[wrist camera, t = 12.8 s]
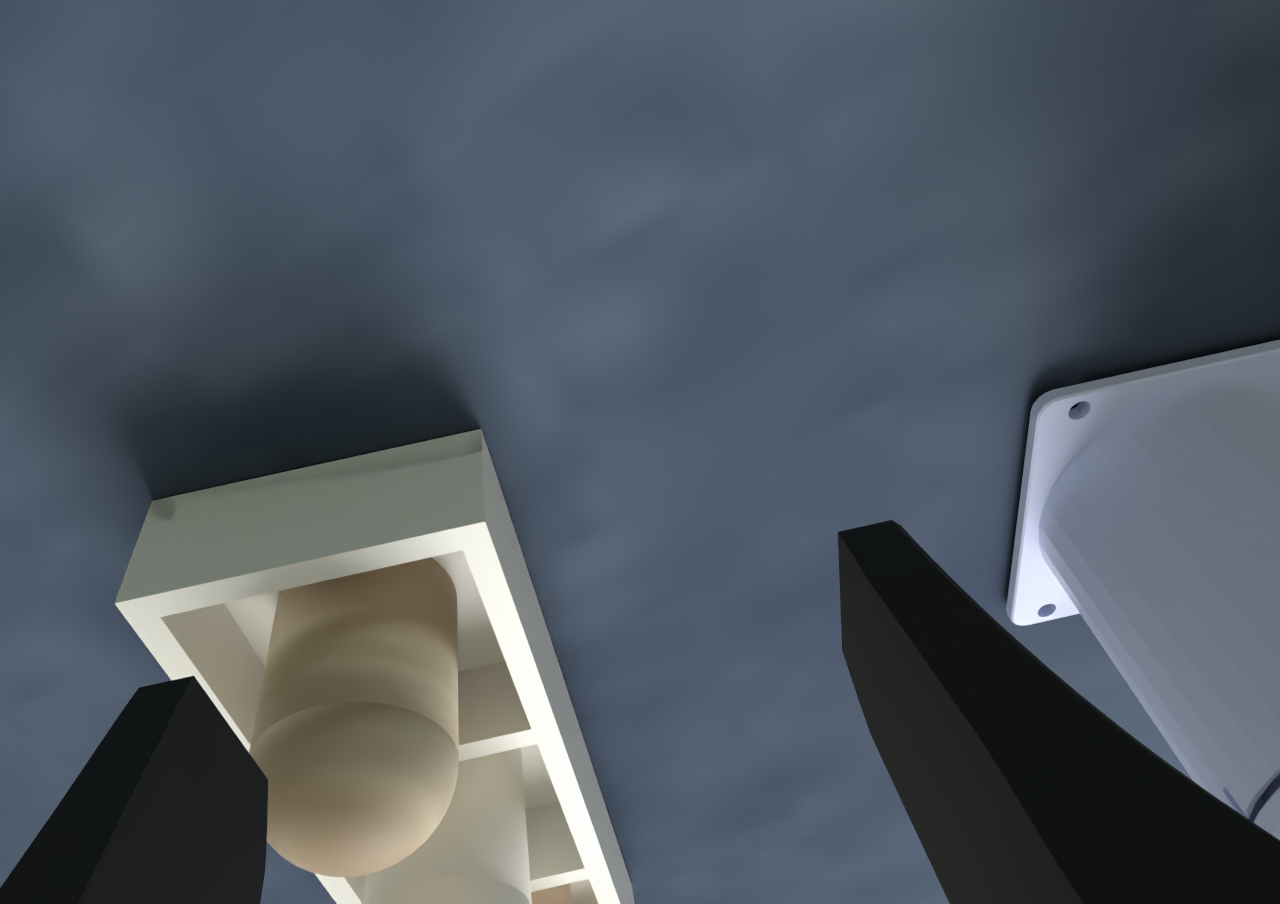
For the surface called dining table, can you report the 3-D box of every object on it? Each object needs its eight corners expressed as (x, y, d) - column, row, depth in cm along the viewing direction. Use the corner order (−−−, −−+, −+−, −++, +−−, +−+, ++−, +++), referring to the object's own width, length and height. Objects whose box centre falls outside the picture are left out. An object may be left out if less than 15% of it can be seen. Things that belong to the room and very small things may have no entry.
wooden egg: (429, 522, 21) (422, 775, 16) (476, 639, 24) (483, 890, 19) (249, 562, 21) (189, 829, 16) (315, 675, 24) (281, 936, 19)
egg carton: (481, 428, 21) (492, 697, 16) (631, 885, 34) (667, 1122, 28) (151, 501, 21) (43, 799, 15) (428, 932, 34) (424, 1179, 28)
